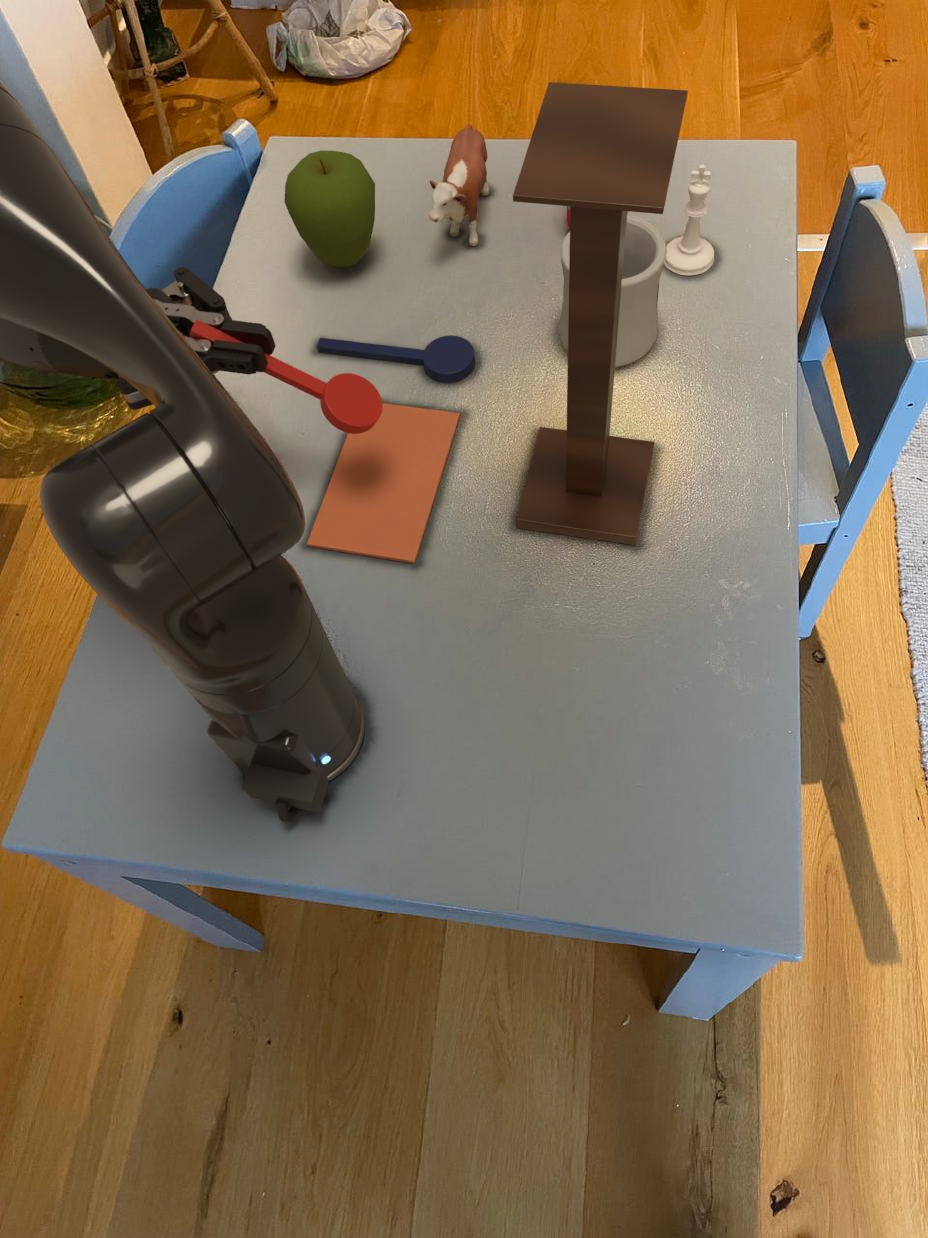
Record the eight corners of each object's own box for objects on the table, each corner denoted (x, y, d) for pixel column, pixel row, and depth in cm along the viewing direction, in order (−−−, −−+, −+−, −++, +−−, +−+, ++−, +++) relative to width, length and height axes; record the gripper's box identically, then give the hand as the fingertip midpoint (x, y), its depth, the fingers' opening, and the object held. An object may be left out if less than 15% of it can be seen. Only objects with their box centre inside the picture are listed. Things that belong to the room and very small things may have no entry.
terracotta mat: (415, 563, 77) (414, 561, 77) (307, 546, 79) (306, 543, 78) (460, 415, 84) (460, 412, 84) (361, 402, 86) (360, 399, 86)
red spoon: (368, 444, 73) (373, 436, 72) (180, 354, 69) (182, 344, 68) (384, 397, 76) (389, 389, 75) (203, 307, 71) (206, 298, 70)
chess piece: (711, 277, 90) (728, 185, 81) (660, 273, 90) (671, 182, 82) (715, 242, 92) (732, 149, 83) (665, 239, 93) (676, 146, 84)
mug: (674, 351, 86) (687, 263, 77) (584, 385, 85) (587, 299, 76) (614, 267, 91) (621, 177, 83) (529, 298, 90) (526, 209, 82)
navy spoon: (468, 385, 86) (467, 376, 85) (312, 366, 89) (309, 357, 88) (480, 347, 88) (479, 338, 87) (327, 329, 91) (324, 320, 90)
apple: (318, 300, 93) (289, 200, 83) (294, 248, 97) (263, 147, 87) (399, 272, 94) (380, 169, 84) (372, 222, 98) (351, 118, 87)
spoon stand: (635, 545, 76) (683, 209, 48) (516, 527, 78) (494, 193, 50) (653, 450, 80) (705, 90, 52) (539, 435, 82) (531, 80, 54)
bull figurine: (429, 266, 94) (418, 196, 87) (460, 179, 100) (453, 106, 92) (471, 271, 93) (464, 200, 86) (500, 182, 99) (496, 109, 92)
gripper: (-1, 353, 67) (221, 383, 64) (78, 225, 73) (284, 247, 70) (48, 422, 74) (252, 452, 70) (117, 299, 80) (307, 322, 76)
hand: (267, 350), depth 70 cm, fingers closed on red spoon, 1 cm apart
